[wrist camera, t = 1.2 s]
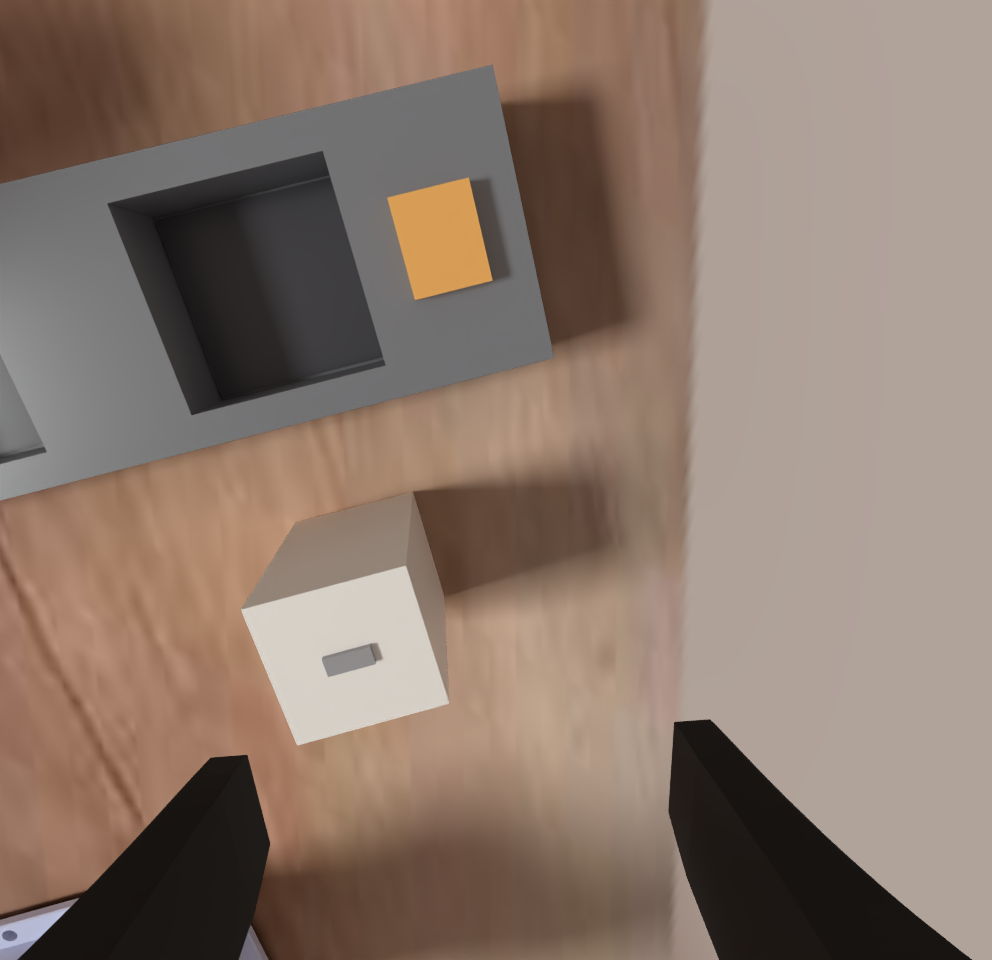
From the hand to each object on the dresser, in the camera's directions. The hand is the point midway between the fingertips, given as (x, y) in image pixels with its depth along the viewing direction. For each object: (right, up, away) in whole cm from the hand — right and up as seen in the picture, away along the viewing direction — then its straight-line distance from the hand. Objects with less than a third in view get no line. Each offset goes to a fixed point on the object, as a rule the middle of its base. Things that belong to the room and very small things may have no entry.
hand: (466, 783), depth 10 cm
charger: (-4, +2, +10) cm, 11 cm away
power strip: (-9, +10, +8) cm, 15 cm away
